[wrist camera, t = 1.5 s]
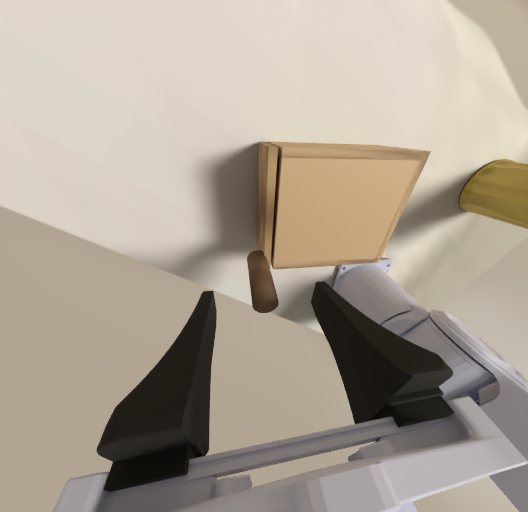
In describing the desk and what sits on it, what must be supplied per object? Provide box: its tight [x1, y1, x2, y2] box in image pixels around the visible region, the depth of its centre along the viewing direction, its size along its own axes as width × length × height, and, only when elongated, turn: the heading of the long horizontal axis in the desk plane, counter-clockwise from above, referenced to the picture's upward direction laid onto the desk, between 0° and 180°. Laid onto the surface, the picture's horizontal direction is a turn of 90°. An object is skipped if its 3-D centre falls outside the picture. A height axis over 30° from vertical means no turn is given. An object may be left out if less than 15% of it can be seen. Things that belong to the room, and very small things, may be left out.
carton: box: [268, 142, 431, 269], centre depth 18 cm, size 10×11×6 cm
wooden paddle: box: [247, 142, 279, 313], centre depth 15 cm, size 10×2×11 cm, turn 178°
